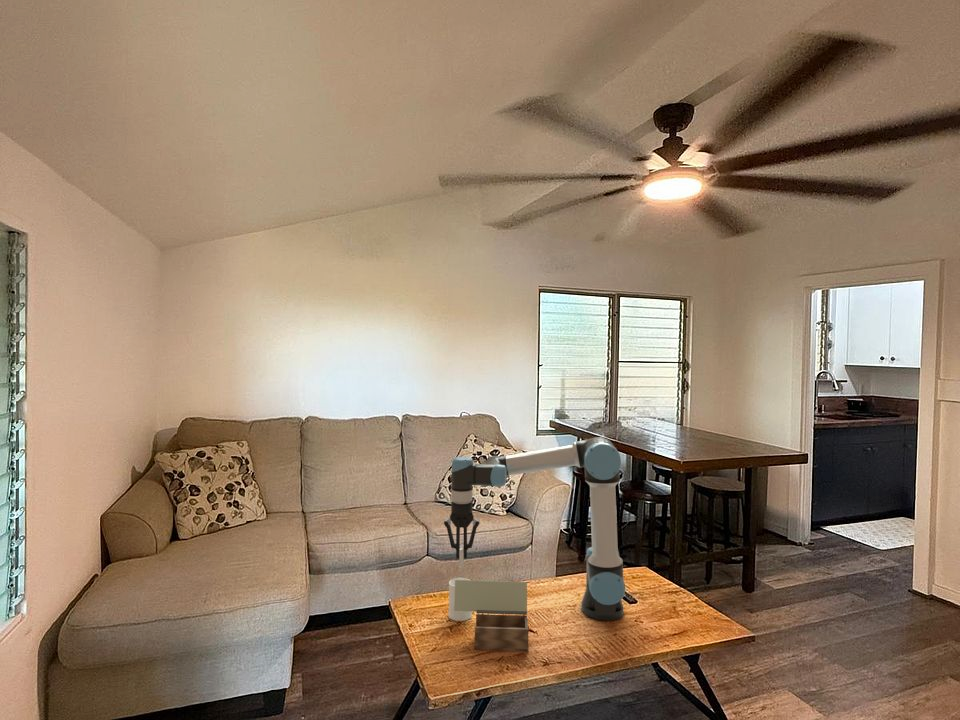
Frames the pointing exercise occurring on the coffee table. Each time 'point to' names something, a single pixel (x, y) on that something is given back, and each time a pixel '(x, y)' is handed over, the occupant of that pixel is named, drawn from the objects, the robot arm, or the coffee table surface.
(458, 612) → the mug
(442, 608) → the coffee table surface
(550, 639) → the coffee table surface
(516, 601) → the lid
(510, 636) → the cable box
